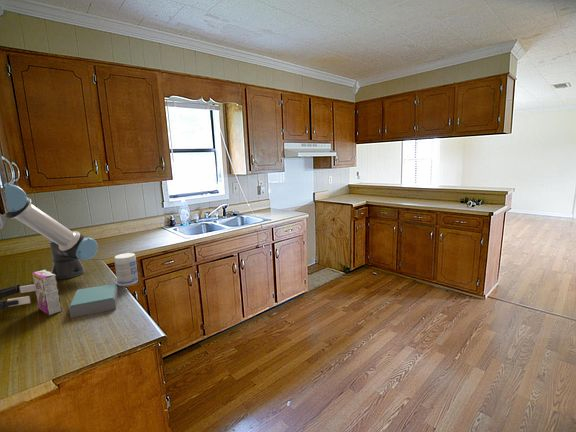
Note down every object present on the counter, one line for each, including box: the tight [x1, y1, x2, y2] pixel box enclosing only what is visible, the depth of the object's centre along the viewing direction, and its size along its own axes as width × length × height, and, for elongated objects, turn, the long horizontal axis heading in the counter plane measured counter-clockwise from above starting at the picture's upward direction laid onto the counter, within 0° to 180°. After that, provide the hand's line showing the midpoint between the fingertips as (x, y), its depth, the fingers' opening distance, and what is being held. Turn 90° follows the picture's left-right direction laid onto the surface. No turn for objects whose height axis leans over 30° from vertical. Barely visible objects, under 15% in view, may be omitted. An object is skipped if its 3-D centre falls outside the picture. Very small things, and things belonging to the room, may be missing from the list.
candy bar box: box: [31, 269, 63, 316], centre depth 128 cm, size 11×5×16 cm, turn 56°
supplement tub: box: [114, 252, 139, 287], centre depth 156 cm, size 10×10×15 cm
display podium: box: [68, 283, 119, 319], centre depth 134 cm, size 18×16×5 cm
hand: (35, 292), depth 126 cm, fingers open, 13 cm apart
